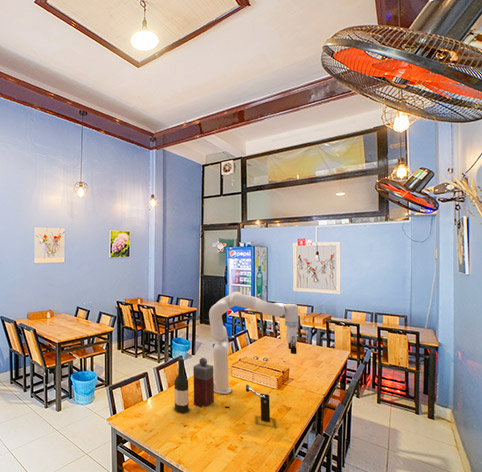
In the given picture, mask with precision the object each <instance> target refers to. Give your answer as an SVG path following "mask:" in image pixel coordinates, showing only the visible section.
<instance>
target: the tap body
mask: <svg viewBox="0 0 482 472" xmlns="http://www.w3.org/2000/svg"><path fill="white" fill-rule="evenodd" d="M259 394H260V395H261V396H263V395H264V396H266V397H261V398H260V397H259V398H260V421H261V422H268V423H270V422H271V409H270V407H271V405H270V403H271V402H270V394H267V393H259Z"/></svg>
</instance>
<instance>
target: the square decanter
mask: <svg viewBox="0 0 482 472" xmlns="http://www.w3.org/2000/svg"><path fill="white" fill-rule="evenodd" d="M198 361H199V363H197V364H195V365H193V369H192V371H193V405H194V406H196V407H199V408H203V407H205V408H208V407H209V406H211V405H212V404H213V403H215V392H214V365H213V364H212V365H211V364H208V359H207V358H205V357H201V358H200V359H199V360H198Z"/></svg>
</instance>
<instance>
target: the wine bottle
mask: <svg viewBox="0 0 482 472" xmlns="http://www.w3.org/2000/svg"><path fill="white" fill-rule="evenodd" d="M177 362H178V363H177V365H178V366H177V367H178V371H177V372H178V373H177V376H176V377H175V379H174V411H175V412H177V413H178V414H179V413H181V414H185V413H188V412H189V406H190V405H189V404H190V403H189V379H188V378H187V376H186V374H185V359H184V358H183V357H178V361H177Z"/></svg>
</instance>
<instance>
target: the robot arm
mask: <svg viewBox="0 0 482 472" xmlns="http://www.w3.org/2000/svg"><path fill="white" fill-rule="evenodd" d="M236 306H237V307H240V308H245V309H249V310H253V311H256V312H259V313H262V314H265V315H268V316H272V317H278V318H279V317H283V316H284V326H285V327H286V341H287V343H288V344H287V346H288V347H287V348H288V350H290V354H291V355H297V354H298V353H297V343H298V331H297V330H298V328H299V306H298V305H297V304H295V303H285V302H274V303H272V302H269V301H265V300H263V299H260V297H257V296H252V295H248V294H245V293H242V292H240V291H233V292H231V293H229V294H228V295H227V296H224V297H222V298H221V299H219V300H218V301H216V303H215V304H213V305H212V306H211V307H210V309H209V312H208V317H209V326H210V333H211V337H212V339H213V341H214V346H213V347H212V357H213V358H212V359H213V378H214V393H216V394H219V395H228V394H231V392H232V388H231V387H230V384H229V383H230V381H229V380H230V379H229V350H230V342H229V335H228V332H227V331H228V330H227V328H226V327H225V325H224V321H223V315H224V314H225V313H227V312H228V311H229V310H230V309H232V308H234V307H236Z"/></svg>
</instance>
